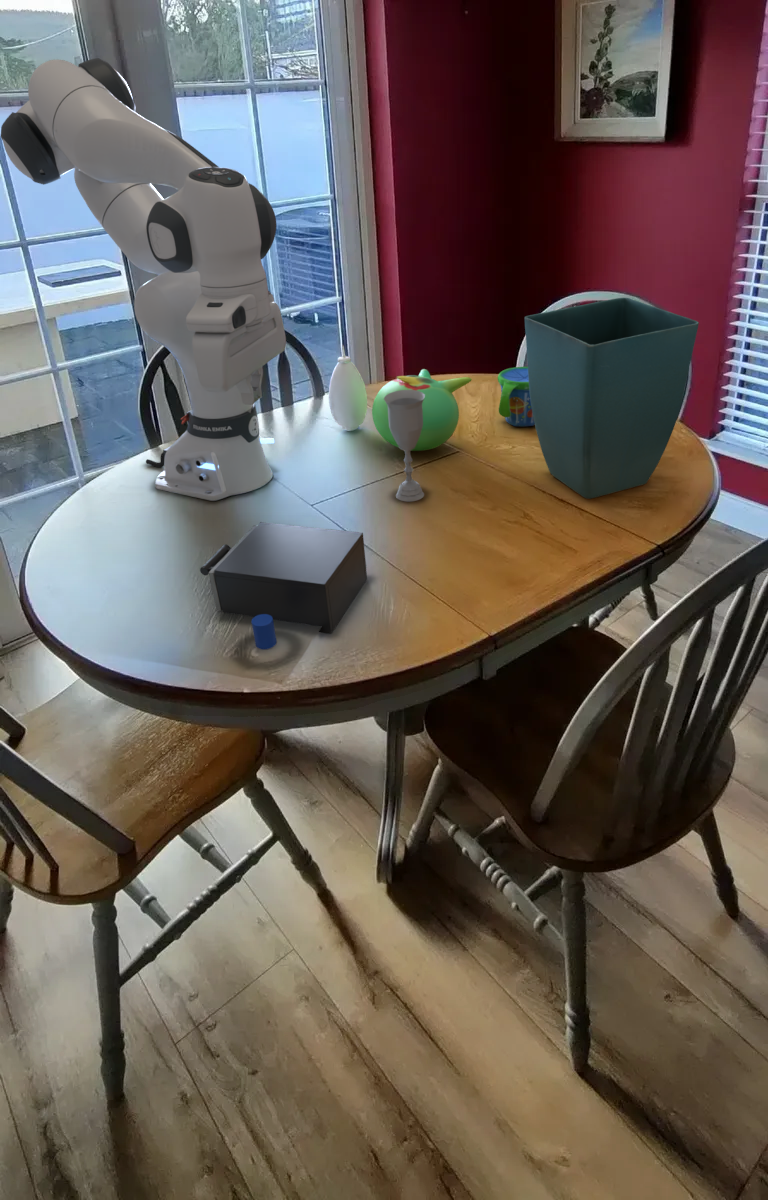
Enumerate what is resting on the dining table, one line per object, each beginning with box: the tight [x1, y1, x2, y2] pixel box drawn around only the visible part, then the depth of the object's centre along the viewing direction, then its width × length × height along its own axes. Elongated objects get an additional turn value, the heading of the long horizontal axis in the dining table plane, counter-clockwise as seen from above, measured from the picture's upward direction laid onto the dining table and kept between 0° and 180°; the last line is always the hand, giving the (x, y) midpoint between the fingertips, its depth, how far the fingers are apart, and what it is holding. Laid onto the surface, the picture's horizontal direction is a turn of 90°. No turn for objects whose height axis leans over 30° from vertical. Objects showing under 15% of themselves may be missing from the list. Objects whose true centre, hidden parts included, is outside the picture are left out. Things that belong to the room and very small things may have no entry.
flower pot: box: [524, 297, 700, 500], centre depth 140 cm, size 20×20×28 cm
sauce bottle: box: [328, 344, 368, 432], centre depth 171 cm, size 8×8×18 cm
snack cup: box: [497, 366, 535, 428], centre depth 170 cm, size 16×10×10 cm
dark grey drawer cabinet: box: [214, 521, 368, 635], centre depth 119 cm, size 17×15×8 cm
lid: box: [251, 614, 278, 650], centre depth 110 cm, size 8×8×5 cm
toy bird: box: [371, 368, 473, 452], centre depth 162 cm, size 18×17×15 cm
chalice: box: [384, 390, 425, 502], centre depth 142 cm, size 7×7×18 cm
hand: (252, 401), depth 120 cm, fingers closed
